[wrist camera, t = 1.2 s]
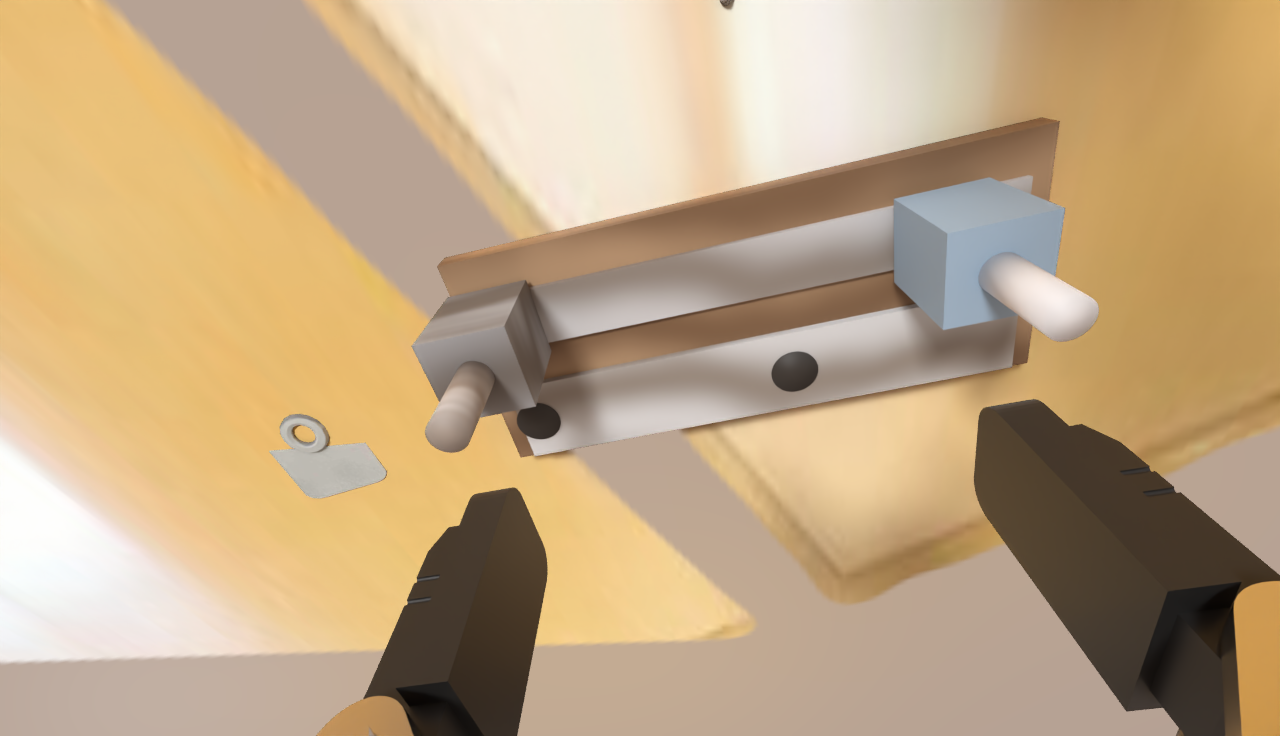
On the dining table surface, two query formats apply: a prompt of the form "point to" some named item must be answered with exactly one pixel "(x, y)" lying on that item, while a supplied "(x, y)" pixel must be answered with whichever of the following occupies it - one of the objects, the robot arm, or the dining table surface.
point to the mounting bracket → (325, 461)
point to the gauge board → (714, 306)
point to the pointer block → (986, 259)
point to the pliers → (725, 2)
